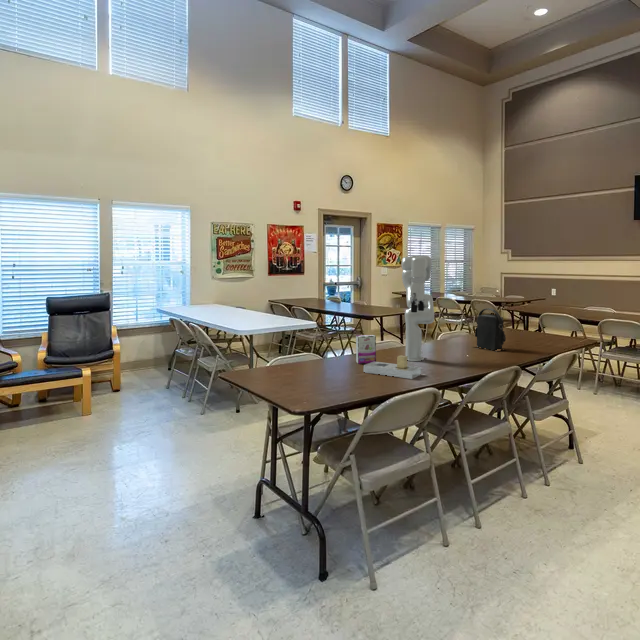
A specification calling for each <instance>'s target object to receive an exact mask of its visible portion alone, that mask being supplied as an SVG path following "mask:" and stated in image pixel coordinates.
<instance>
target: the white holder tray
mask: <svg viewBox="0 0 640 640" xmlns="http://www.w3.org/2000/svg"><path fill="white" fill-rule="evenodd" d="M364 372H365V374H371V375H378V374H380V375H379V376H385V375H387V376H386V377H392V376H394V378H401V379H409V380H413V379H415V378H417V377H419V376H421V375H422V367H421V366H414V365H407V369H399V368H397V363H390V362H384V361H383V362H381V361H376V362H375V361H373V362H371V363H366V364H363V373H364ZM420 374H421V375H420Z"/></svg>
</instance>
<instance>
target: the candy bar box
mask: <svg viewBox="0 0 640 640" xmlns="http://www.w3.org/2000/svg"><path fill="white" fill-rule="evenodd" d="M355 350H356V351H355V352H356V353H355V361H356V363H357V364H358V365H362V364H363V365H366V364H368V363H371V362H373V361H375V362H377V336H376V335H375V334H362V335H355Z"/></svg>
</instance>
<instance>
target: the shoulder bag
mask: <svg viewBox="0 0 640 640" xmlns="http://www.w3.org/2000/svg"><path fill="white" fill-rule="evenodd" d="M486 310H488V311H492V312H493V313H494V314H492V313H491V314H488V313H487V314H483V313H484V312H485V311H486ZM475 322H476V325H477V327H475V328H474V329H475V330H474V331H475V332H474V337H475V338H476V346H477V347H481V348H486V349H491V350H490V351H492V350H497V349H503V346H504V343H505V342H506V339H507V338H506V334H505V331H504V318H503V317H502V316H501V315H500V314H499V312H498V311H497V310H495V308H494V309H493V308H483V309H481V310H480V311H479V313H478V316H477V319H476V320H475ZM486 349H485V350H486Z"/></svg>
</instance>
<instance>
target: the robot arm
mask: <svg viewBox="0 0 640 640" xmlns="http://www.w3.org/2000/svg"><path fill="white" fill-rule="evenodd" d="M432 263H433V262H432V258H431V256H429V255H412V256H404V257H402V259H401V269H402V272H401V279H402V283H403V286H404V289H405V292H406V294H405V295H406V306H407V309H405V311H404V321H405V356H407V360H408V361H407V362H421V360H422V361H424V359H425V358H424V356H422V355H423V350H422V339H423V337H422V336H423V331H422V329H421V327H419V325H421V324H422V325H423V324H424V325H429V324H433V323H434V321H435V308H434V307H435V306H434V299H433V298H434V297H433V296H432V295H431V294H429V293H425V290H426V289H425V284H426V282H428V281H430V279H431V274H432V266H433V265H432Z"/></svg>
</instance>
